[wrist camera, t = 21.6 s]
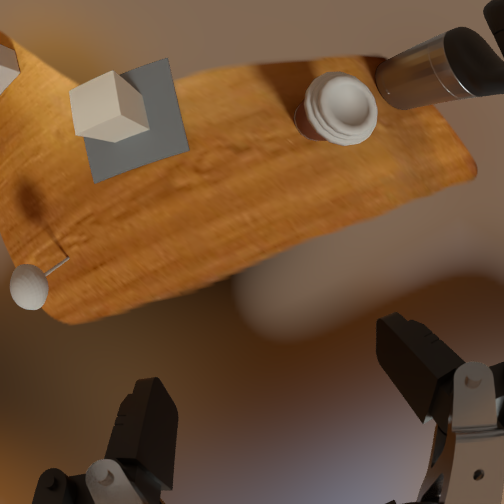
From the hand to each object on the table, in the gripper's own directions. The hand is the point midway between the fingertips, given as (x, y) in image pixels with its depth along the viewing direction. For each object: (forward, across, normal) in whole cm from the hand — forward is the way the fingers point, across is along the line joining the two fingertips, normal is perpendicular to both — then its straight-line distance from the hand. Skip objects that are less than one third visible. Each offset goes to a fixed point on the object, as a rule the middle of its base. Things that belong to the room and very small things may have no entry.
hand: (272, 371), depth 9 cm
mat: (+32, +11, -18) cm, 38 cm away
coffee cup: (+32, -15, -11) cm, 37 cm away
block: (+32, +11, -18) cm, 38 cm away
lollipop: (+32, +28, -1) cm, 43 cm away
